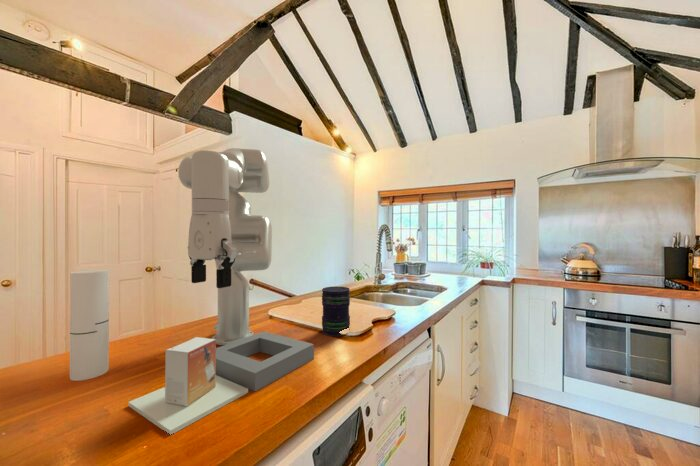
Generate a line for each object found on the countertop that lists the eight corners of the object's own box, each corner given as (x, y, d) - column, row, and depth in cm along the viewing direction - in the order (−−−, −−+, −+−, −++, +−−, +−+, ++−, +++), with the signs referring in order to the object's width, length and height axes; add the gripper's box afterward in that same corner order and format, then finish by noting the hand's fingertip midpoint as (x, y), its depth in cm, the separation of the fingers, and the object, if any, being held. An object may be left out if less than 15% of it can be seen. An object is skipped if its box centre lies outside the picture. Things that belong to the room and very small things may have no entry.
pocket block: (201, 369, 74) (201, 353, 74) (263, 344, 91) (263, 331, 91) (255, 391, 64) (255, 373, 64) (313, 358, 81) (313, 344, 81)
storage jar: (326, 337, 97) (326, 292, 97) (318, 328, 106) (318, 287, 106) (354, 334, 101) (354, 290, 101) (344, 325, 110) (344, 285, 110)
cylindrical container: (115, 369, 74) (115, 270, 74) (81, 382, 68) (82, 273, 68) (96, 365, 77) (97, 269, 77) (62, 377, 70) (63, 272, 70)
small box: (186, 407, 56) (187, 352, 57) (164, 403, 58) (164, 349, 58) (216, 387, 64) (216, 338, 64) (195, 383, 66) (196, 336, 66)
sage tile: (128, 405, 58) (128, 401, 58) (204, 373, 72) (205, 370, 72) (170, 435, 50) (170, 430, 50) (248, 392, 63) (248, 388, 63)
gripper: (173, 208, 67) (173, 283, 68) (218, 206, 58) (218, 292, 58) (205, 210, 74) (205, 278, 74) (249, 208, 64) (249, 286, 64)
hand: (210, 284), depth 66 cm, fingers open, 9 cm apart
